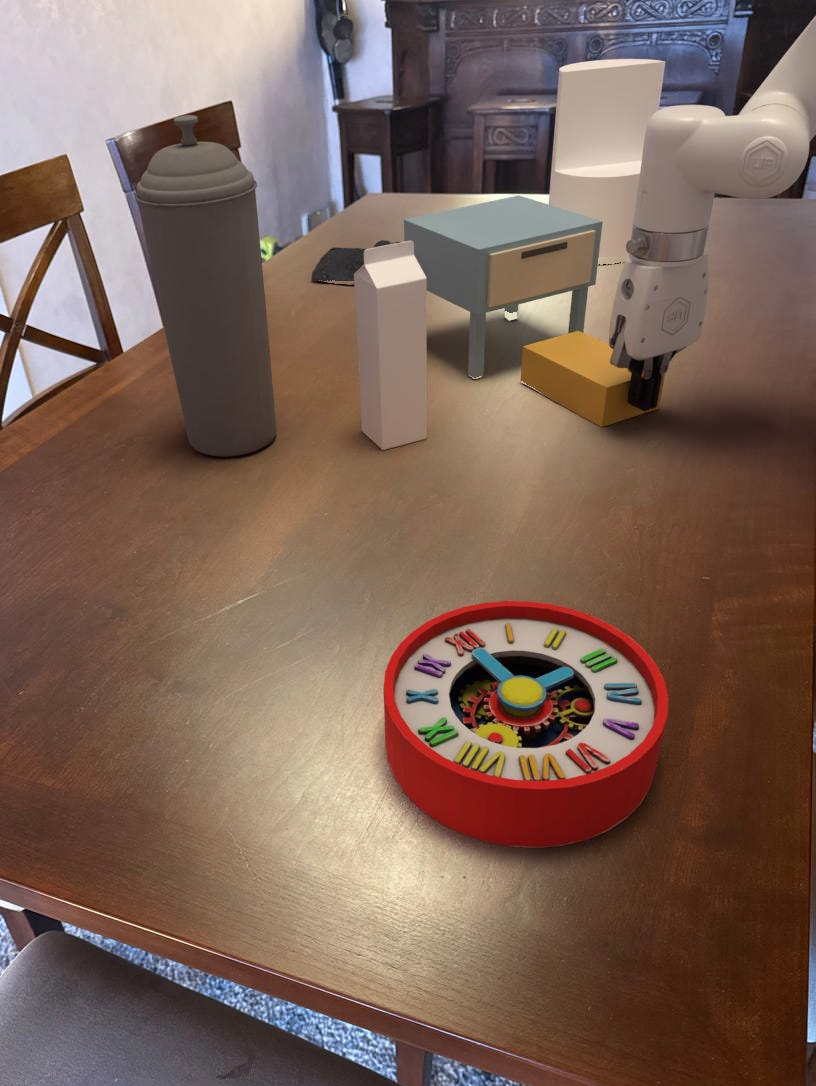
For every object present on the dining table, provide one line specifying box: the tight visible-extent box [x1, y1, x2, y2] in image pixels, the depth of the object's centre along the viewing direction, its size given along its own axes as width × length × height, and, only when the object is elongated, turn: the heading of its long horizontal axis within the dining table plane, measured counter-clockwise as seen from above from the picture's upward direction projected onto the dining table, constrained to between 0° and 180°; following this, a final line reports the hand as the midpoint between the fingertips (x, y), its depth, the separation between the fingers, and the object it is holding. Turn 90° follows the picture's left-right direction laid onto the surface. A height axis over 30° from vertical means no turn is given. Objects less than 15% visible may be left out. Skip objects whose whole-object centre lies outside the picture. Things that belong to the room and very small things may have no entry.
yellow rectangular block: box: [520, 331, 666, 428], centre depth 112 cm, size 16×9×5 cm, turn 28°
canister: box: [134, 114, 277, 458], centre depth 100 cm, size 13×13×35 cm
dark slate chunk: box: [311, 239, 402, 281], centre depth 157 cm, size 15×22×5 cm
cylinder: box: [548, 58, 666, 257], centre depth 151 cm, size 17×17×28 cm
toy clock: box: [383, 600, 669, 849], centre depth 66 cm, size 20×6×20 cm
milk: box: [354, 241, 428, 451], centre depth 102 cm, size 6×6×22 cm
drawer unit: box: [403, 195, 603, 378], centre depth 123 cm, size 19×19×17 cm
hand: (641, 405), depth 106 cm, fingers closed
